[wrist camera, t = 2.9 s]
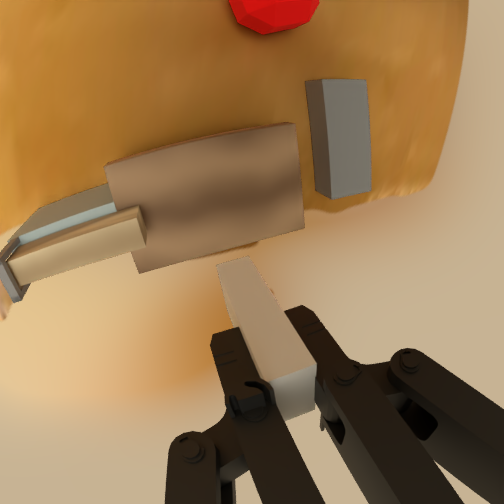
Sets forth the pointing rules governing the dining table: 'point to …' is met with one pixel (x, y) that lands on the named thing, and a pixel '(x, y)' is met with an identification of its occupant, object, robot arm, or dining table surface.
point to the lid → (211, 192)
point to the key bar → (79, 246)
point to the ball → (273, 14)
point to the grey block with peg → (54, 226)
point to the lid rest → (340, 136)
